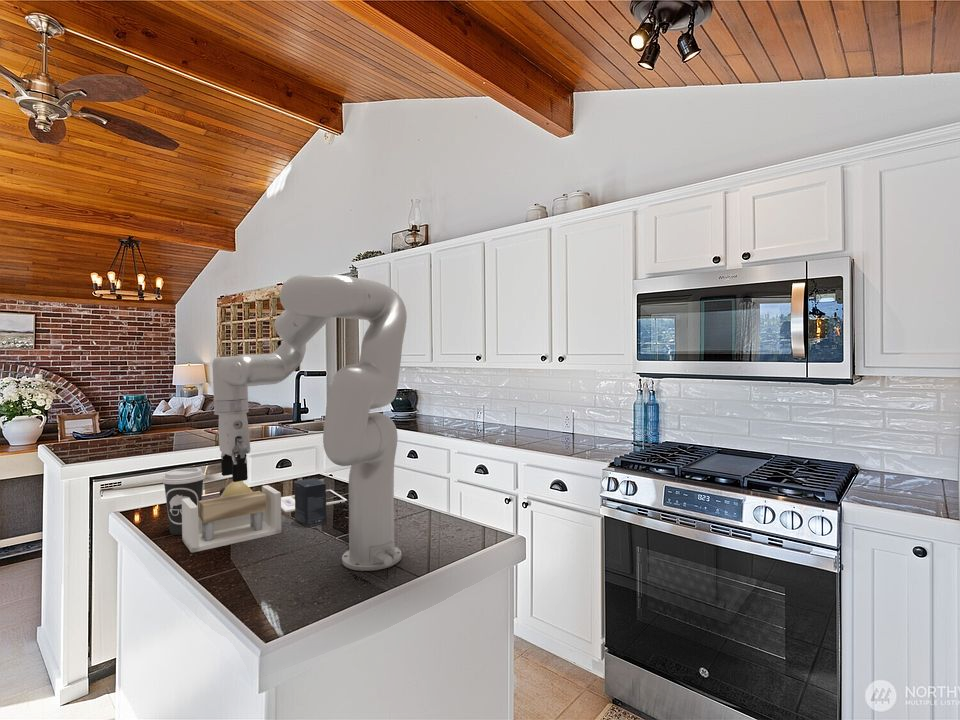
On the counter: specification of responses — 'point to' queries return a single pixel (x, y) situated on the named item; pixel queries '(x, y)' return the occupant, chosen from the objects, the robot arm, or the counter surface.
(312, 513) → the box
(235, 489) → the tan rounded triangle
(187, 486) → the coffee cup
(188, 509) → the peg frame
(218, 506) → the oak board
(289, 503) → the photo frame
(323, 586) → the counter surface
